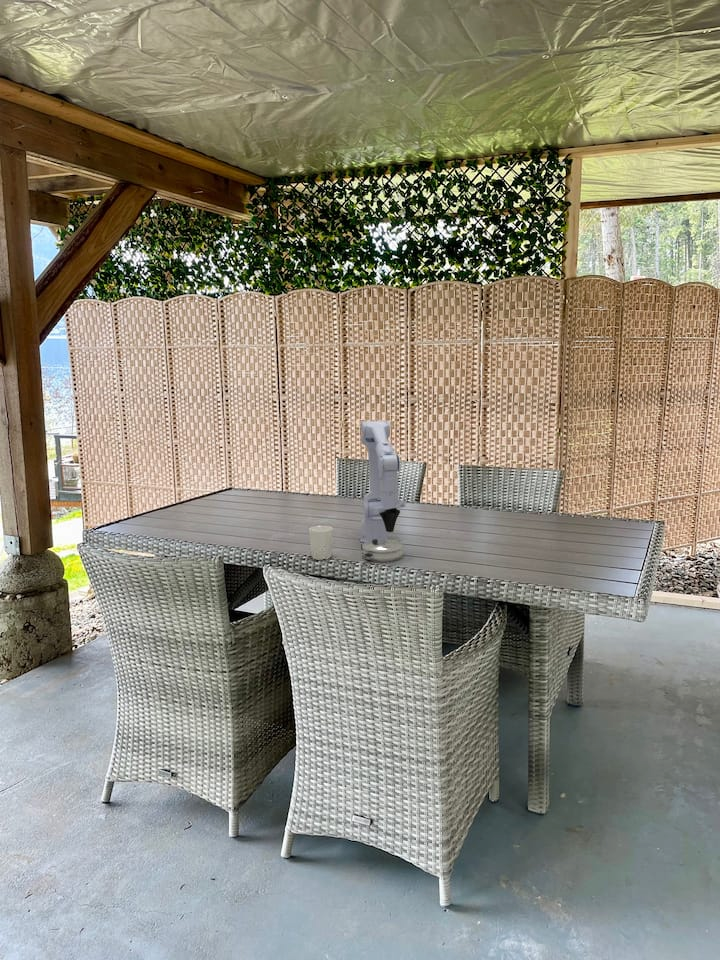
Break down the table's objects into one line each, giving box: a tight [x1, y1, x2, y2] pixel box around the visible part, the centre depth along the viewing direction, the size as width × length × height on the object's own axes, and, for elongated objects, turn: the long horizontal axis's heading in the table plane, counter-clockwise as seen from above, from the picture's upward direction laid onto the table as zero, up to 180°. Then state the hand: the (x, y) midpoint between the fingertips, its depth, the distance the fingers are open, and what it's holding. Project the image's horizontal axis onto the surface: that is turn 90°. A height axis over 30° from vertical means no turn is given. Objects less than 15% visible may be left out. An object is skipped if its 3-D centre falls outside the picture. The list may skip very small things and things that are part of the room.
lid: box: [361, 539, 404, 553], centre depth 231 cm, size 14×14×2 cm
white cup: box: [308, 525, 334, 561], centre depth 232 cm, size 8×8×10 cm
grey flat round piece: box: [360, 543, 403, 563], centre depth 232 cm, size 15×16×3 cm
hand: (389, 531), depth 228 cm, fingers closed
